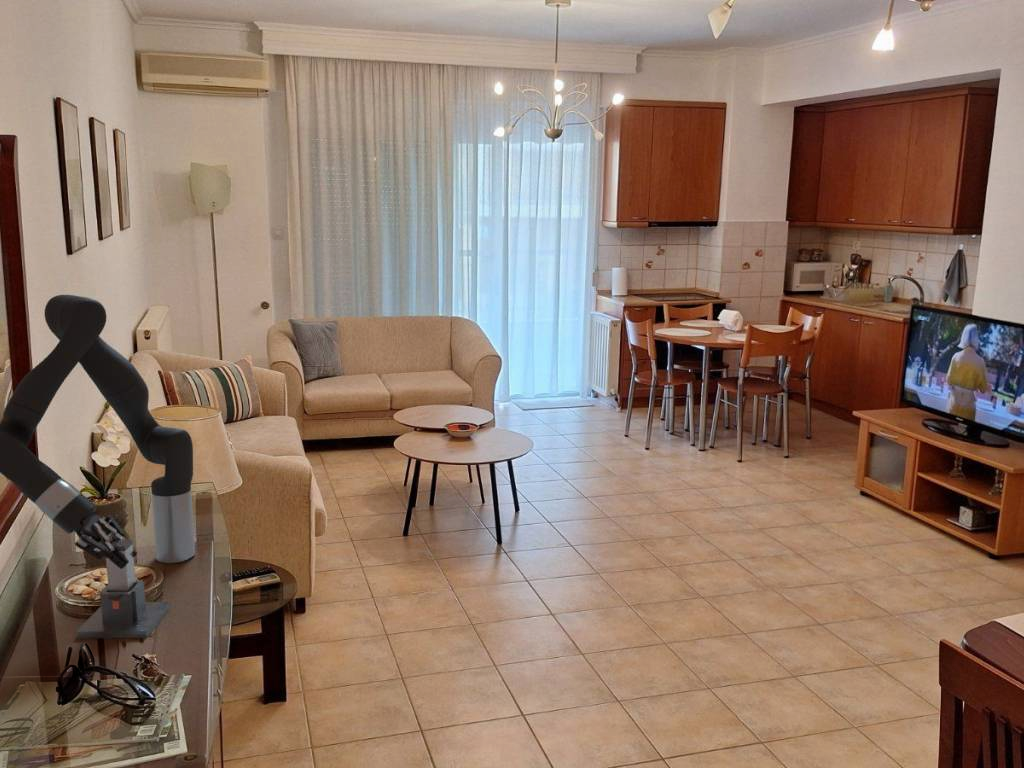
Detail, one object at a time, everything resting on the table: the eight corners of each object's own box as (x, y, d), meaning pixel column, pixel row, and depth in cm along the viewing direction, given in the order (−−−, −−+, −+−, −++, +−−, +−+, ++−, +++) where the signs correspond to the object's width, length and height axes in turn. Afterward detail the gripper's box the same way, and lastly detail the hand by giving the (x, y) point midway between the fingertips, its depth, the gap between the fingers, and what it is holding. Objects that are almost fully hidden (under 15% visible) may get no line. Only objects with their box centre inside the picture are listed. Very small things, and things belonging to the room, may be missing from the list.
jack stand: (105, 608, 197) (102, 574, 196) (170, 608, 198) (167, 573, 196) (76, 638, 184) (73, 601, 182) (146, 637, 184) (143, 600, 183)
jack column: (118, 610, 192) (112, 539, 189) (137, 609, 192) (132, 539, 189) (110, 618, 188) (104, 546, 185) (130, 618, 188) (124, 546, 185)
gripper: (61, 504, 178) (128, 562, 181) (92, 483, 192) (154, 536, 195) (36, 530, 179) (104, 587, 182) (69, 507, 193) (131, 560, 196)
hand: (129, 560), depth 188 cm, fingers closed on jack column, 4 cm apart
